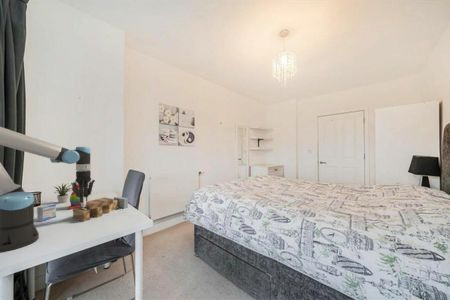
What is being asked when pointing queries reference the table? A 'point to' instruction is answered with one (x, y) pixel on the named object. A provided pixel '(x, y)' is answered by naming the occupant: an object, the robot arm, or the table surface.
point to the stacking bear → (74, 200)
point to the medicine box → (46, 212)
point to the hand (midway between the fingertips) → (83, 206)
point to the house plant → (62, 193)
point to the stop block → (122, 202)
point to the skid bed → (86, 213)
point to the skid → (110, 207)
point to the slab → (97, 203)
